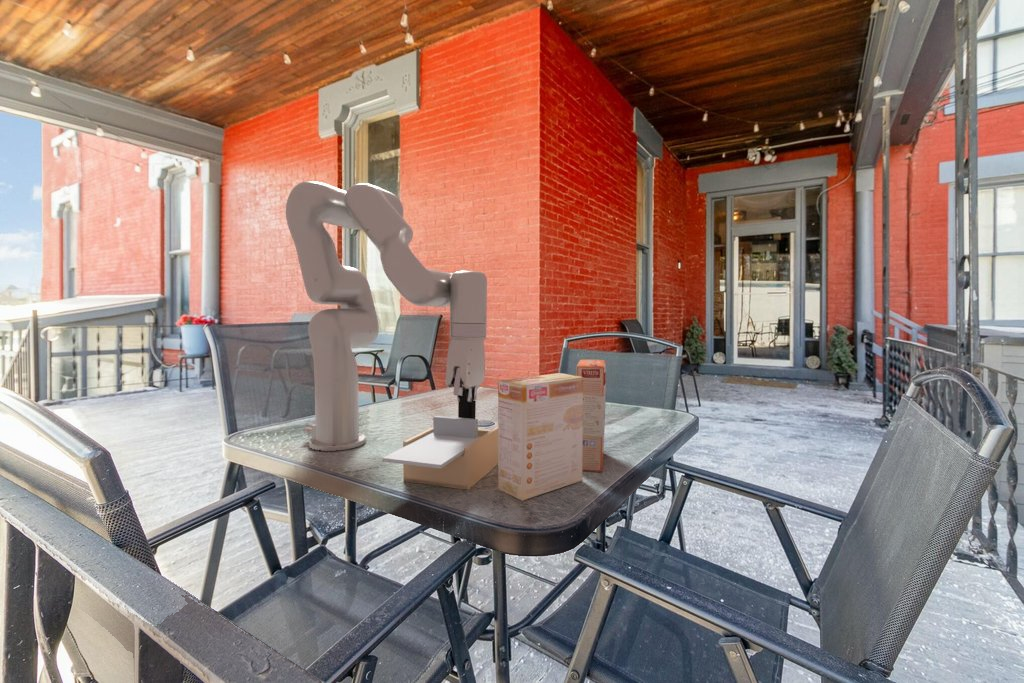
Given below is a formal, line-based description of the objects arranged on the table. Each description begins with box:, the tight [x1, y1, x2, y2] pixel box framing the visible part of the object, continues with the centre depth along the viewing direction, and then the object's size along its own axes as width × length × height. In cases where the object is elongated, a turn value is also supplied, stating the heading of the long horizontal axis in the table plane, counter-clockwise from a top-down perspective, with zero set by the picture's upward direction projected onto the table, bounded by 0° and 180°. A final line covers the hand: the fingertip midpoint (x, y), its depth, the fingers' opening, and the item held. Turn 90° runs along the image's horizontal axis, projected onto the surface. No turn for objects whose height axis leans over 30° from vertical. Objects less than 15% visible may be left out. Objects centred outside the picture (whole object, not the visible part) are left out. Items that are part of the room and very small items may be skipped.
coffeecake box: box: [497, 372, 583, 502], centre depth 84 cm, size 15×7×20 cm, turn 129°
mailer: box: [402, 425, 498, 490], centre depth 92 cm, size 13×18×7 cm
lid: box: [381, 415, 480, 469], centre depth 84 cm, size 11×17×4 cm, turn 161°
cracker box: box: [575, 359, 607, 473], centre depth 97 cm, size 14×6×21 cm, turn 168°
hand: (466, 419), depth 98 cm, fingers closed
